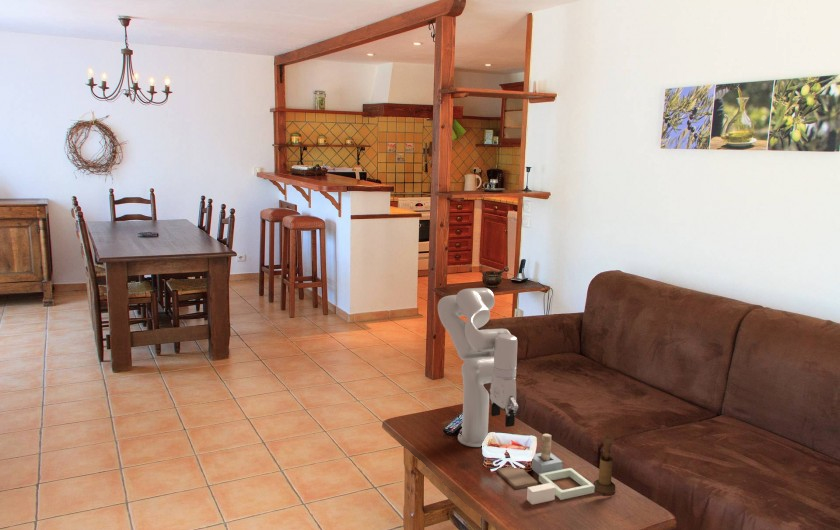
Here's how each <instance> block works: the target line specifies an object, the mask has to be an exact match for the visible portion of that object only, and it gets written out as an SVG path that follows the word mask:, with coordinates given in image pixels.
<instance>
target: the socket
mask: <svg viewBox="0 0 840 530" xmlns="http://www.w3.org/2000/svg"><path fill="white" fill-rule="evenodd" d="M534 454H535V455H534V457H533V459H532V469H531V470H533V472H535V473H536V474H537V475H538V476H539V474H542V473H547V472H552V471H557V470H562V469H563V465H564V464H563V463H564V462H563V461H562V460H561V459H560V458H559V457H557V455H555V454H554V453H552V452H551V453H550V461H546V462H543V461H542V460H541V452H539V453H534Z"/></svg>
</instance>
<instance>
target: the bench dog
mask: <svg viewBox="0 0 840 530" xmlns="http://www.w3.org/2000/svg"><path fill="white" fill-rule="evenodd" d="M526 489H527V493H526V500H527V501H528V503H529V504H531V505H536V504H541V503H546V502H551V501H554V500H555V498H556V495H555V487H554V486H553V485H552V484H551V483H547V484H542V483H541V484H538V485H535V486H530V487H526Z"/></svg>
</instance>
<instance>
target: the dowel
mask: <svg viewBox="0 0 840 530" xmlns="http://www.w3.org/2000/svg"><path fill="white" fill-rule="evenodd" d="M541 436H542V437H541V452H540V453H541V460H542V461H543V462H546V461H550V453H552V452H551V451H552V434H549V433H543V434H542V435H541Z"/></svg>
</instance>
